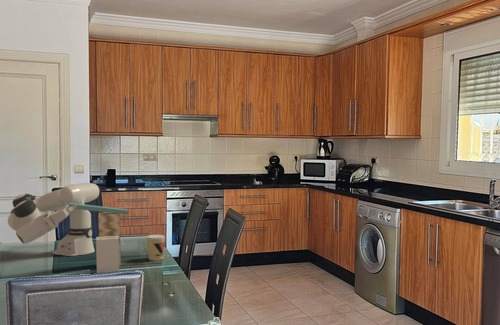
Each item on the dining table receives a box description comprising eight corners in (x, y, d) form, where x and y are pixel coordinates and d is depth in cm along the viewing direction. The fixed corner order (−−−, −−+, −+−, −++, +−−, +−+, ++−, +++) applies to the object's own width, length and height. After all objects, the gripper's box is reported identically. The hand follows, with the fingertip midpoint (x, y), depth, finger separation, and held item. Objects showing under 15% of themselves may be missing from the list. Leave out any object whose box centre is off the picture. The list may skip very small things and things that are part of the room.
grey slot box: (96, 273, 210) (96, 240, 209) (97, 270, 217) (96, 237, 216) (119, 271, 213) (118, 238, 212) (118, 268, 220) (118, 235, 219)
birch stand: (99, 268, 220) (98, 215, 219) (99, 264, 228) (98, 213, 227) (120, 266, 223) (119, 214, 222) (120, 262, 231) (119, 211, 230)
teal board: (68, 208, 216) (69, 204, 217) (69, 206, 221) (69, 202, 221) (128, 214, 225) (128, 210, 225) (127, 213, 229) (128, 209, 229)
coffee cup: (156, 261, 231) (156, 238, 231) (143, 259, 236) (142, 236, 236) (168, 258, 239) (168, 235, 238) (155, 255, 244) (155, 233, 243)
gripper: (56, 222, 227) (81, 207, 230) (51, 229, 207) (79, 212, 211) (49, 211, 226) (74, 196, 229) (44, 217, 206) (71, 201, 210)
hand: (76, 204), depth 220 cm, fingers closed on teal board, 4 cm apart
